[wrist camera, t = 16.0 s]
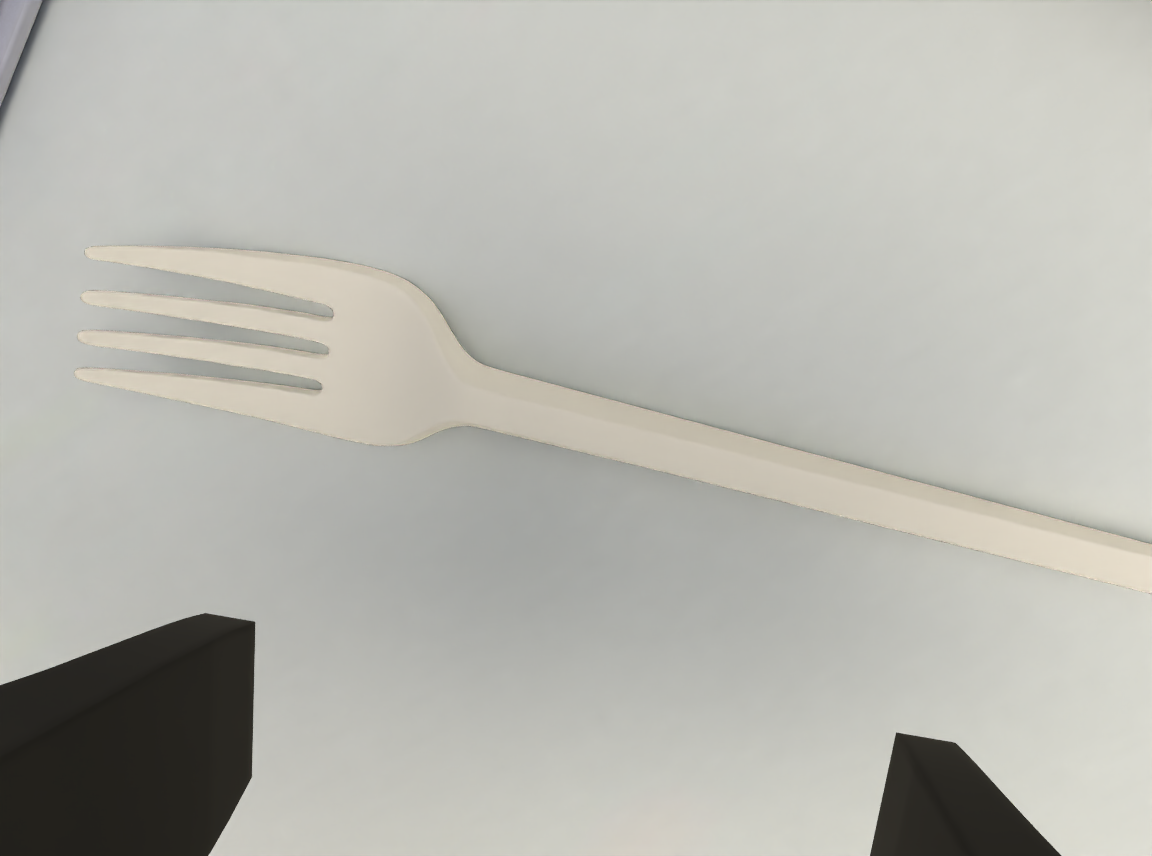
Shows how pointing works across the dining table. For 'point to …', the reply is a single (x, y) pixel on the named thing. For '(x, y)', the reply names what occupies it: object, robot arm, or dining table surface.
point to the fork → (522, 404)
